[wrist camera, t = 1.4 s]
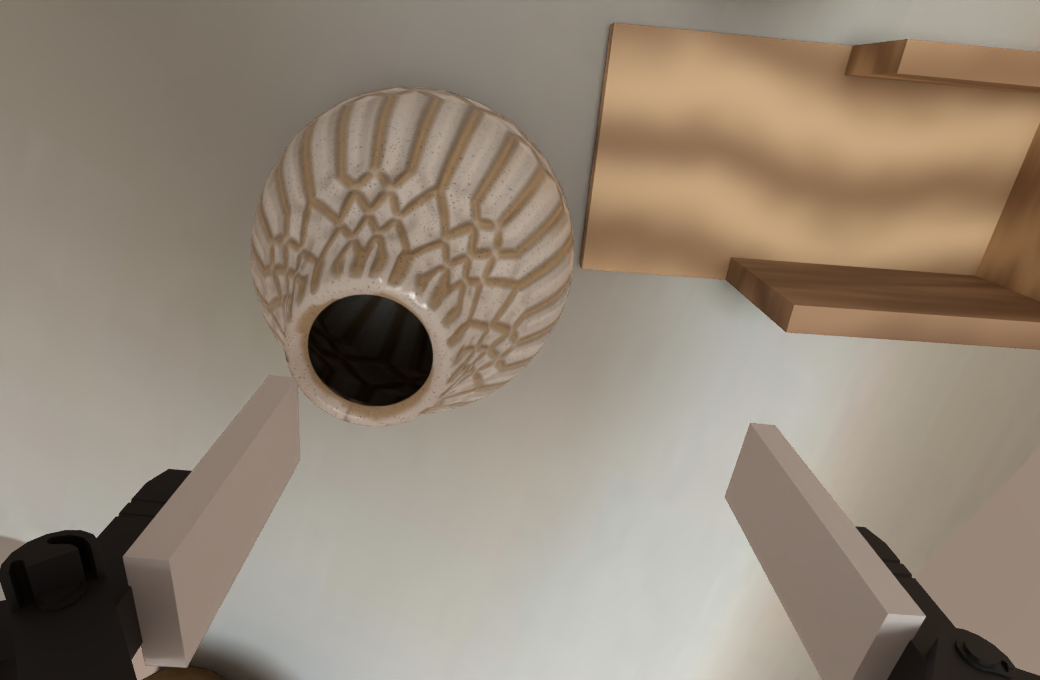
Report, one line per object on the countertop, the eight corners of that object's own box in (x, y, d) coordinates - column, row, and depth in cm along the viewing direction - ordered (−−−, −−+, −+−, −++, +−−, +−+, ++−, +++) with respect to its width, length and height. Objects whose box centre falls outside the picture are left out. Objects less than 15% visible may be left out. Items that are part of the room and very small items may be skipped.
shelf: (610, 24, 32) (651, 0, 23) (1061, 68, 34) (1268, 61, 24) (579, 263, 38) (603, 319, 29) (966, 292, 39) (1106, 354, 30)
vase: (603, 154, 35) (709, 228, 17) (503, 367, 41) (501, 593, 23) (353, 38, 32) (152, -27, 14) (283, 285, 38) (77, 467, 20)
